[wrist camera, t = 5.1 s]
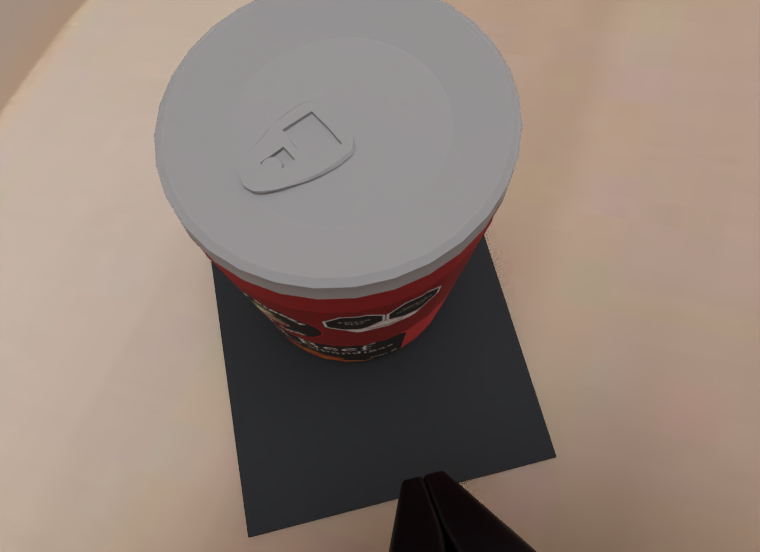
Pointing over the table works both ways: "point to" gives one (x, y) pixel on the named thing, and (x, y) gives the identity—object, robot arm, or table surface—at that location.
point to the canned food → (340, 161)
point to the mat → (377, 406)
